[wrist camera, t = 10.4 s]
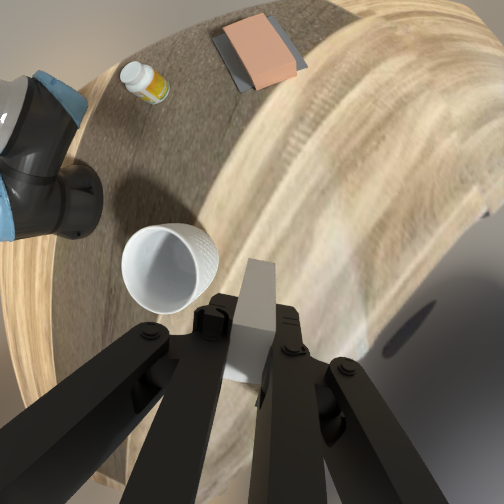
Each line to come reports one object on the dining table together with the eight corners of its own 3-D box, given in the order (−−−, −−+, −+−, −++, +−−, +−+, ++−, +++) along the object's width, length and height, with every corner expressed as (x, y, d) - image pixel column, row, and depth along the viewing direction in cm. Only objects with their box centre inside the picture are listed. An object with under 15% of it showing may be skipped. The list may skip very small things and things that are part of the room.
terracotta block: (295, 60, 31) (262, 12, 30) (251, 77, 33) (222, 27, 32) (296, 75, 36) (266, 28, 35) (256, 90, 37) (230, 42, 37)
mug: (173, 308, 46) (133, 338, 33) (140, 255, 45) (92, 270, 33) (242, 265, 42) (217, 289, 30) (204, 206, 42) (166, 206, 29)
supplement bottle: (147, 109, 41) (117, 92, 32) (143, 88, 41) (114, 69, 31) (173, 96, 40) (146, 75, 31) (167, 75, 40) (142, 52, 30)
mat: (307, 67, 36) (307, 66, 35) (240, 92, 38) (239, 91, 38) (272, 16, 35) (272, 15, 34) (212, 39, 37) (211, 38, 37)
